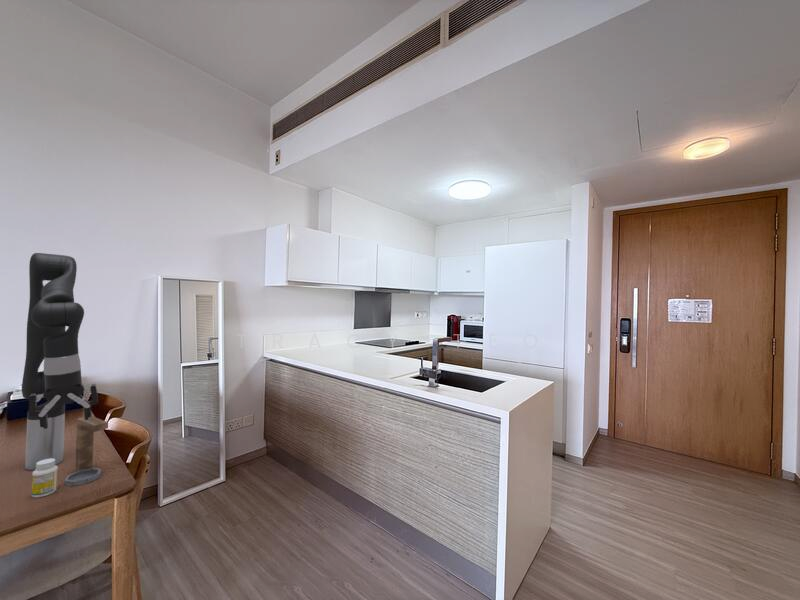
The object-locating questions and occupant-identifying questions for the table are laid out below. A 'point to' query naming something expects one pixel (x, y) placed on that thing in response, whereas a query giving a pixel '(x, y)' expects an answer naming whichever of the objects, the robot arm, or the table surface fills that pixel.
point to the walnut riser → (86, 441)
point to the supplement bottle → (44, 478)
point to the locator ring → (82, 476)
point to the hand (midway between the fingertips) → (66, 423)
